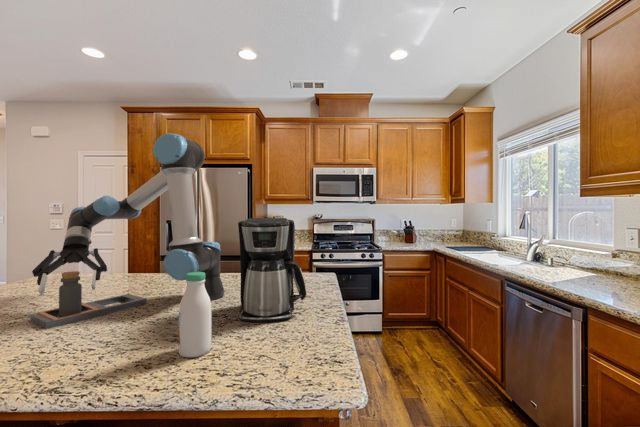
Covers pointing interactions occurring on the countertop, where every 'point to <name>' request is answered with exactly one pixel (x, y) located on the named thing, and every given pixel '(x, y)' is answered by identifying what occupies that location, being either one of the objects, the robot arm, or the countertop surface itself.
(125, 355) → the countertop surface
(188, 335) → the milk bottle
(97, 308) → the rail
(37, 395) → the countertop surface
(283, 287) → the coffee maker
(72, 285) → the bottle
